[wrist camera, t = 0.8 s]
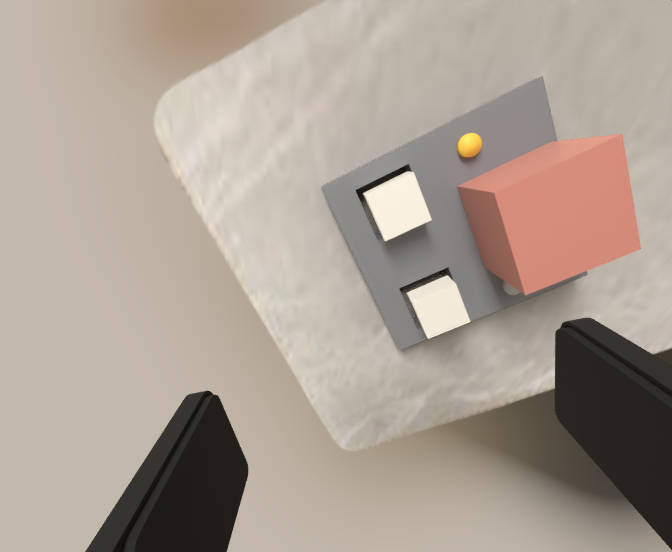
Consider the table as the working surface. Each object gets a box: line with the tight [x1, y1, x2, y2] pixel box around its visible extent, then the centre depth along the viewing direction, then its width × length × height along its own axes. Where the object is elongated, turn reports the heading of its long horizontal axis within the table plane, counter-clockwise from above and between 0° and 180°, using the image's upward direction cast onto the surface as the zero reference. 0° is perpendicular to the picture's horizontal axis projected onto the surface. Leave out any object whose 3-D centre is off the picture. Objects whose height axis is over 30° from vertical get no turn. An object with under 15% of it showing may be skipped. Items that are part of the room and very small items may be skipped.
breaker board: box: [321, 76, 588, 350], centre depth 26 cm, size 17×16×3 cm
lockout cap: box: [457, 134, 641, 295], centre depth 22 cm, size 7×7×6 cm
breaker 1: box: [363, 171, 432, 241], centre depth 23 cm, size 4×4×2 cm
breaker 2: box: [407, 275, 470, 339], centre depth 26 cm, size 4×4×2 cm
